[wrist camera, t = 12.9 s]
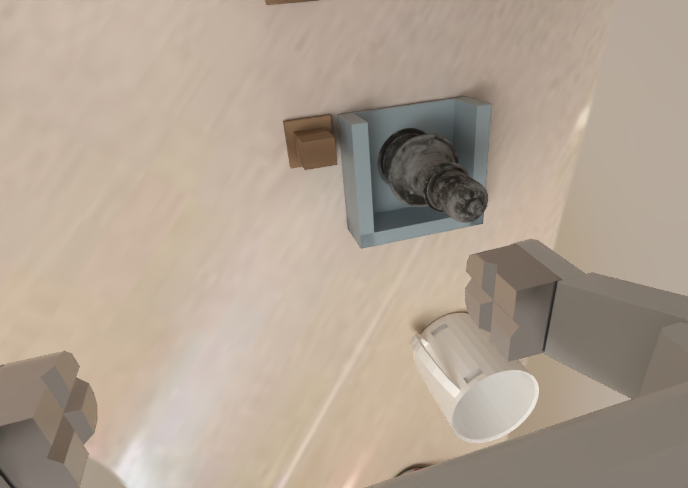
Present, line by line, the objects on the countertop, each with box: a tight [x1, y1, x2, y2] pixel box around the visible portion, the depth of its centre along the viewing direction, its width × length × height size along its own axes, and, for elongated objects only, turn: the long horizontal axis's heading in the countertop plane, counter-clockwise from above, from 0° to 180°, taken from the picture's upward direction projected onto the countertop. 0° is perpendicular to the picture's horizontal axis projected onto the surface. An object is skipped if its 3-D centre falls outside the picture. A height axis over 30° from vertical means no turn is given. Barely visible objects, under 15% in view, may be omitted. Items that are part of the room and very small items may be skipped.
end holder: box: [338, 96, 492, 249], centre depth 36 cm, size 10×11×4 cm
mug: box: [410, 313, 539, 443], centre depth 44 cm, size 12×9×9 cm
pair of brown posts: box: [265, 0, 337, 170], centre depth 30 cm, size 15×4×4 cm, turn 5°
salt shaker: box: [377, 128, 488, 223], centre depth 32 cm, size 6×6×12 cm
